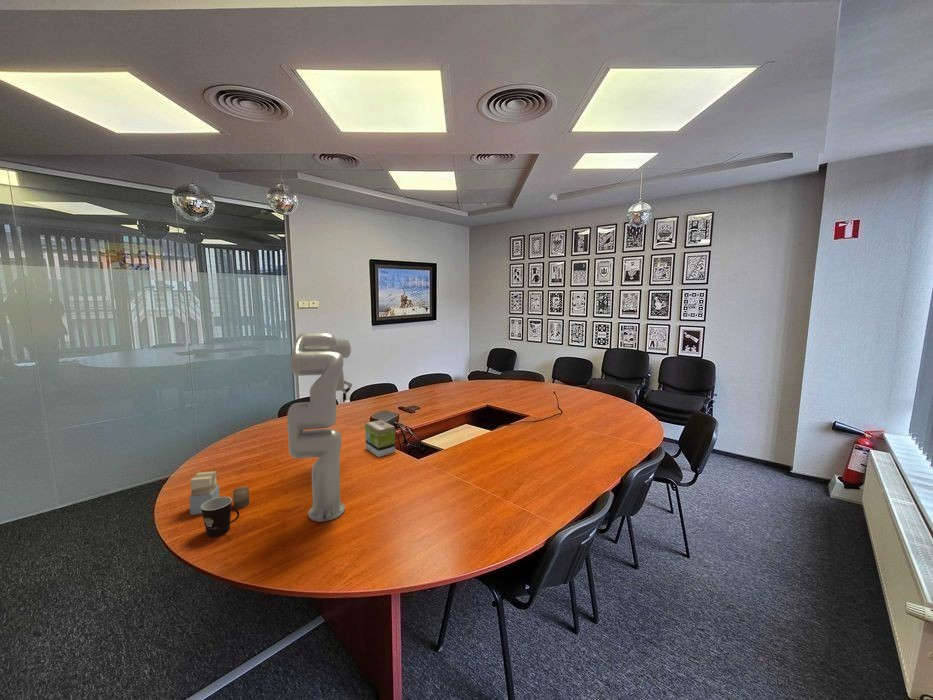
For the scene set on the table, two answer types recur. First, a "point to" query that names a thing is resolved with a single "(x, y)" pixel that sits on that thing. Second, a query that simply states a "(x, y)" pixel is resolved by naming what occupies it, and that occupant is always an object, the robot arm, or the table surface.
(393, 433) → the tea box
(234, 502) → the walnut cylinder
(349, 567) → the table surface
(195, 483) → the birch block
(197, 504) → the white box
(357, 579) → the table surface
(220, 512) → the coffee mug
